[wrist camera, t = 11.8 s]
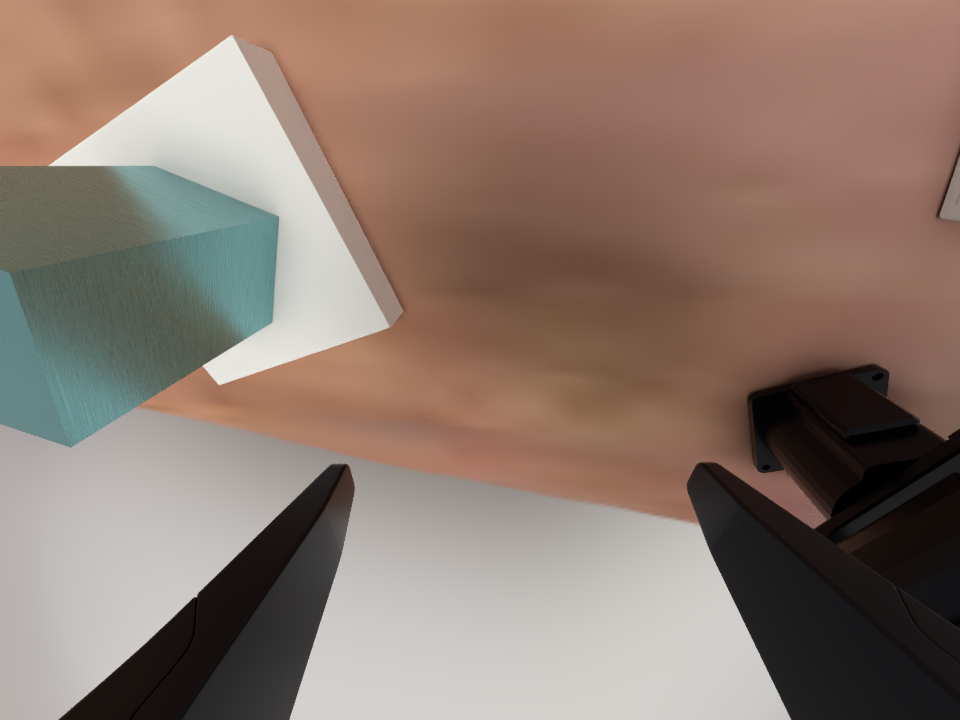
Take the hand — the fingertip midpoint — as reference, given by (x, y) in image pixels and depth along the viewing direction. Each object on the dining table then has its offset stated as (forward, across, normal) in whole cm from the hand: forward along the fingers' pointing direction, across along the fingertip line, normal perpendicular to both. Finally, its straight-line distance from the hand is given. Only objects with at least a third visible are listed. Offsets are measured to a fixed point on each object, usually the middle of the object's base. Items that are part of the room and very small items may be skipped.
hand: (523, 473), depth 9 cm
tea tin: (+12, +14, -2) cm, 19 cm away
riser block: (+15, +14, -2) cm, 21 cm away
